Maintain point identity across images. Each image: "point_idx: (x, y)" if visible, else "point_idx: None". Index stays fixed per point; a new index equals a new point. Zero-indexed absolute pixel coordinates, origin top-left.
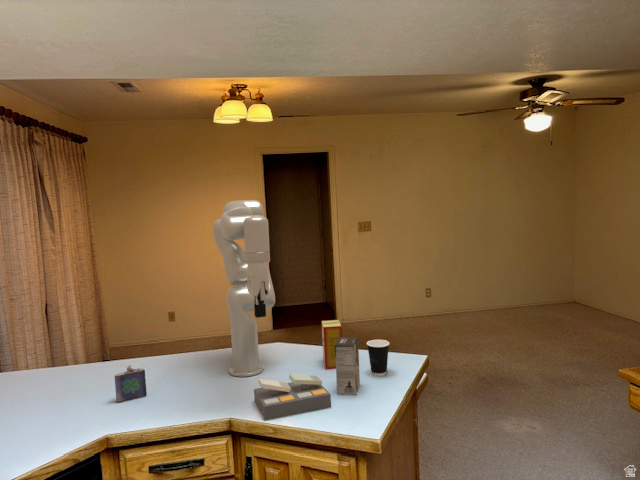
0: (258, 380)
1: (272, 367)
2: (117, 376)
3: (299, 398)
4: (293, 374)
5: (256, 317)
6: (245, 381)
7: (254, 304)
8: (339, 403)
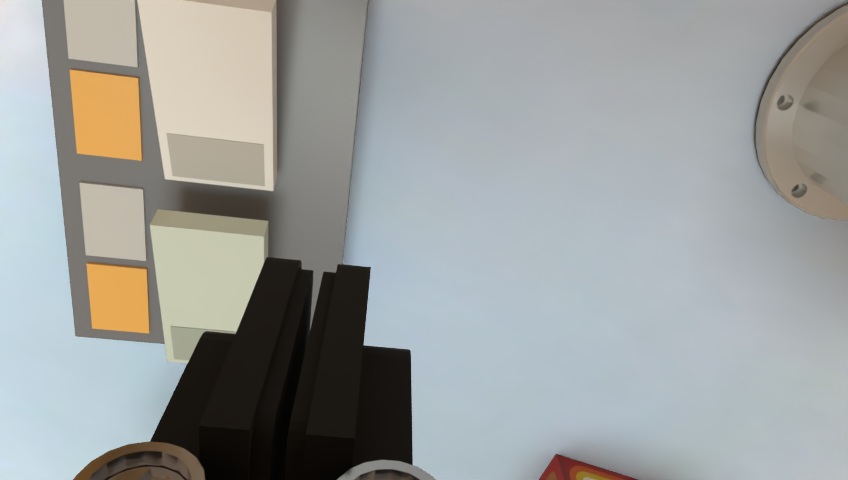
0: (255, 4)
1: (791, 260)
2: None
3: (81, 180)
4: (263, 257)
5: (271, 261)
6: (709, 42)
7: (304, 430)
8: (130, 344)
